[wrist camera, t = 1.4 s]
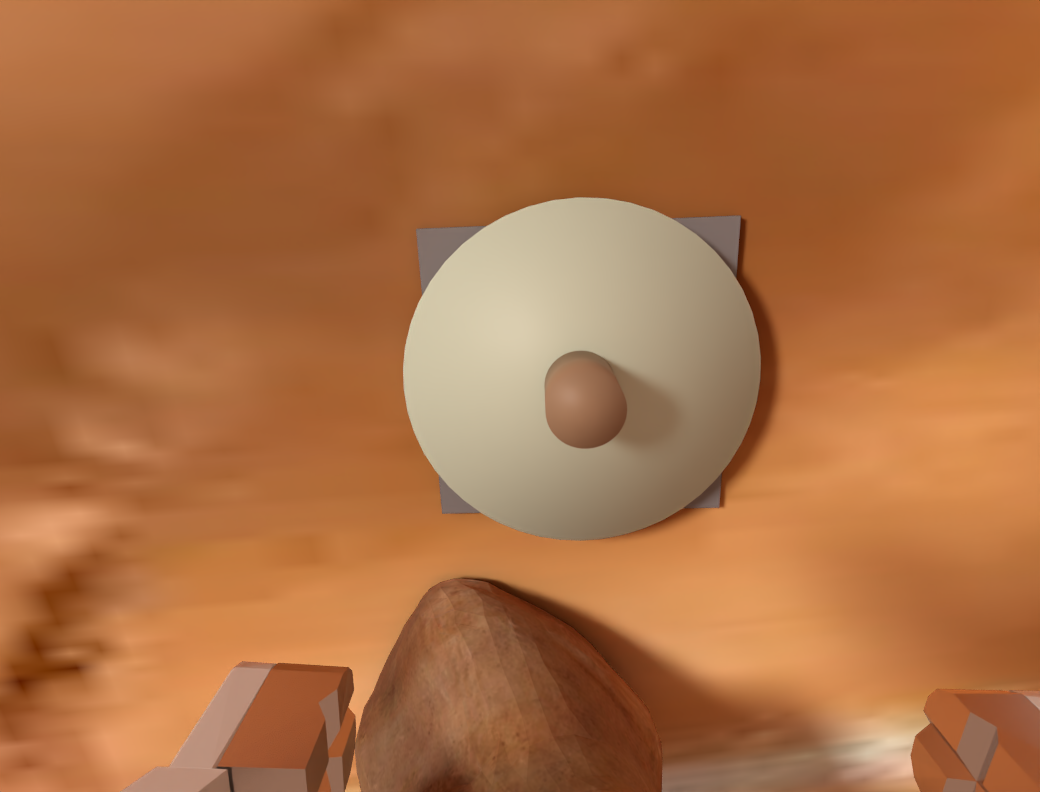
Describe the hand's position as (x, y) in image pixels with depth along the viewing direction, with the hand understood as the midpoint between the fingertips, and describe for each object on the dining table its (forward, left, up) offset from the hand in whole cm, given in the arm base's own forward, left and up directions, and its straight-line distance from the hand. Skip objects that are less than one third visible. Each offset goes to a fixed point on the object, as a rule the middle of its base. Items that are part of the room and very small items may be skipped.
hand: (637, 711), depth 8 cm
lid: (-1, +1, -20) cm, 20 cm away
